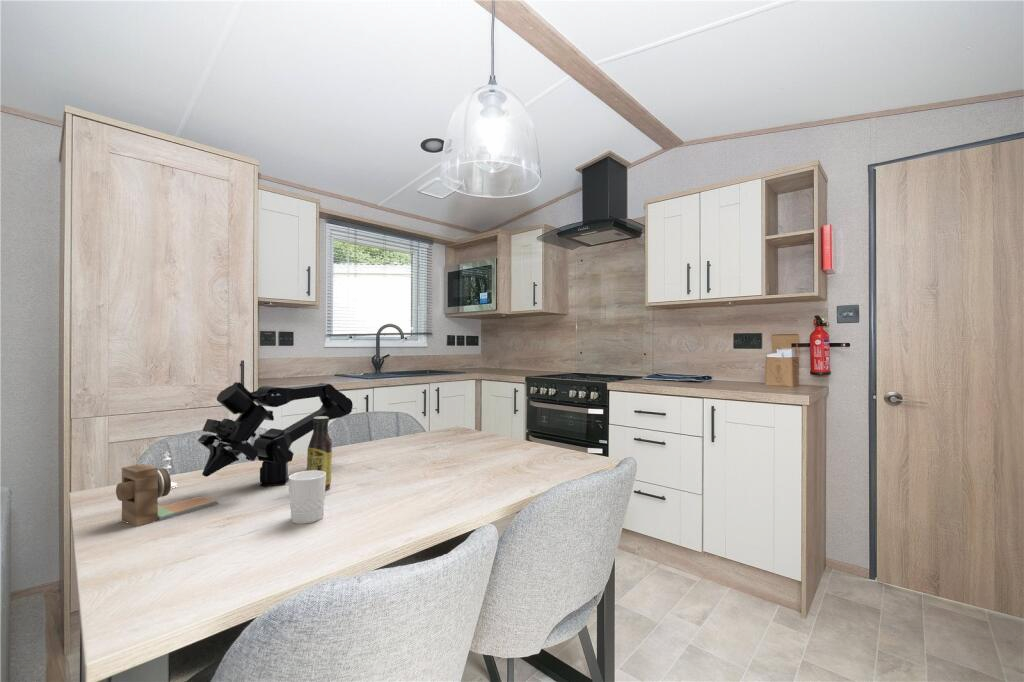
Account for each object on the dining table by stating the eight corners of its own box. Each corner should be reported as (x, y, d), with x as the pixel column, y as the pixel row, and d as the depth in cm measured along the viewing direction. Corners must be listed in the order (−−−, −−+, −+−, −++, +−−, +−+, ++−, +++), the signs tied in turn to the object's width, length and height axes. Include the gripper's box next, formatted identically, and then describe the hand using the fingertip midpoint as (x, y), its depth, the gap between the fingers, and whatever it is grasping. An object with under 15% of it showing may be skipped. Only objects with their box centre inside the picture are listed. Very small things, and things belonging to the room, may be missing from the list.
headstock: (142, 515, 110) (142, 463, 110) (157, 520, 106) (157, 467, 106) (121, 520, 106) (121, 467, 106) (136, 526, 103) (136, 471, 103)
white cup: (289, 527, 102) (289, 481, 102) (287, 515, 109) (287, 472, 109) (327, 521, 106) (327, 477, 106) (324, 510, 113) (324, 468, 113)
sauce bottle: (301, 491, 127) (301, 418, 127) (318, 484, 133) (318, 414, 133) (319, 494, 125) (320, 419, 125) (336, 487, 130) (337, 416, 130)
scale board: (200, 498, 121) (200, 495, 121) (218, 503, 117) (218, 500, 117) (142, 514, 110) (142, 511, 110) (159, 520, 106) (159, 517, 106)
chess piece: (181, 485, 132) (182, 449, 132) (167, 490, 127) (167, 454, 127) (165, 484, 133) (165, 449, 133) (150, 490, 128) (150, 453, 128)
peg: (156, 493, 112) (157, 466, 112) (171, 498, 109) (171, 470, 109) (113, 504, 104) (113, 475, 104) (126, 509, 101) (126, 479, 101)
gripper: (204, 404, 127) (159, 454, 118) (246, 409, 118) (199, 463, 108) (234, 428, 134) (193, 476, 125) (275, 434, 125) (234, 487, 115)
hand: (204, 475), depth 118 cm, fingers closed
